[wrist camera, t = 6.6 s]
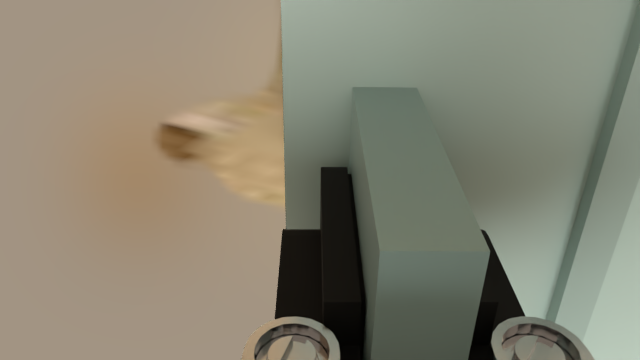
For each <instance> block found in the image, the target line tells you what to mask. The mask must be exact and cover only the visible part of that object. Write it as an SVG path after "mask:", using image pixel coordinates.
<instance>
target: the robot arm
mask: <svg viewBox="0 0 640 360" xmlns="http://www.w3.org/2000/svg"><path fill="white" fill-rule="evenodd" d="M480 230H481V232H482V234H483V236H484V239H485V241H486V243H487V245H488V247H489V250H490V256H489V260H488V265H487V270H486V275H485V280H484V285H483V289H482V294H481V299H480V304H479V309H478V313H477V318H476V323H475V328H474V333H473V337H472V342H471V347H470V352H469V357H468V360H595V359H594V358H593V356H592V355H591V353H590V352H589V350H588V349H587V347H586V346H585V345H584V344H583V343H582V341H581V340H580V339H579V338H578V337H577V336H576V335H574V334H573V333H572V332H570V331H569V330H567V329H566V328H565V327H563V326H560V325H558V324H556V323H554V322H552V321H549V320H545V319H541V318H537V317H526V316H525V314H524V312H523V310H522V307H521V305H520V303H519V301H518V299H517V297H516V294H515V292H514V290H513V288H512V286H511V283H510V281H509V279H508V277H507V275H506V273H505V270H504V268H503V266H502V264H501V262H500V260H499V257H498V255H497V253H496V251H495V249H494V247H493V244H492V242H491V240H490V238H489V236H488V234H487V233H486V231H484V230H482V229H480ZM364 328H365V287H364V279H363V270H362V262H361V253H360V244H359V236H358V227H357V219H356V210H355V201H354V193H353V184H352V176H351V174H348V169H347V167H321V185H320V229H283V232H282V242H281V255H280V266H279V277H278V289H277V301H276V312H275V320H272V321H269V322H267V323H266V324H264V325H262V326H260V327H259V328H257V329H256V331H255V332H254V333H253V334H252V335H251V336H250V337H249V338H248V341H247V343H246V345H245V347H244V351H243V355H242V358H241V360H362V356H363V342H364Z"/></svg>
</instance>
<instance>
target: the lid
mask: <svg viewBox="0 0 640 360" xmlns="http://www.w3.org/2000/svg"><path fill="white" fill-rule="evenodd" d="M281 29H282V74H283V118H284V162H285V207H286V229H320V185H321V167H347V169H348V174H351V176H352V184H353V193H354V201H355V210H356V219H357V227H358V236H359V244H360V253H361V262H362V270H363V279H364V287H365V328H364V342H363V356H362V360H468V357H469V352H470V347H471V342H472V337H473V333H474V328H475V323H476V318H477V313H478V309H479V304H480V299H481V294H482V289H483V285H484V280H485V275H486V270H487V265H488V260H489V256H490V250H489V247H488V245H487V243H486V241H485V239H484V236H483V234H482V232H481V230H480V229H482V230H484V231H486V233H487V234H488V236H489V238H490V240H491V242H492V244H493V247H494V249H495V251H496V253H497V255H498V257H499V260H500V262H501V264H502V266H503V268H504V270H505V273H506V275H507V277H508V279H509V281H510V283H511V286H512V288H513V290H514V292H515V294H516V297H517V299H518V301H519V303H520V305H521V307H522V310H523V312H524V314H525V316H526V317H537V318H541V319H545V320H549V321H552V322H554V323H556V324H558V325H560V326H563V327H565V328H566V329H567V330H569V331H570V332H572V333H573V334H574V335H576V336H577V337H578V338H579V339H580V340H581V341H582V343H583V344H584V345H585V346H586V347H587V349H588V350H589V352H590V353H591V355H592V356H593V358H594V359H595V360H640V0H281Z"/></svg>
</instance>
